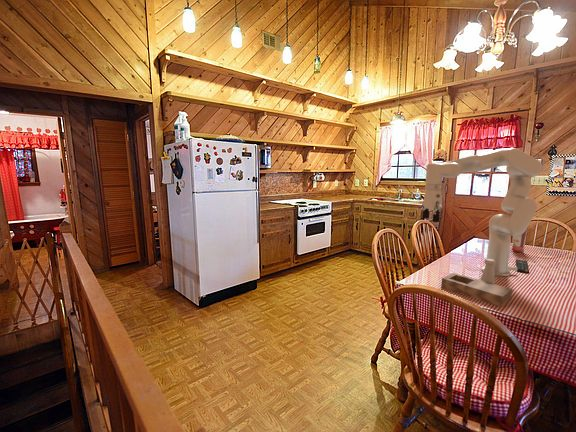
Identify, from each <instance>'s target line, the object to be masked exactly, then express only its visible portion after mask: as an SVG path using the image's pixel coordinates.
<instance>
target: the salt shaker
mask: <svg viewBox="0 0 576 432" xmlns="http://www.w3.org/2000/svg"><path fill="white" fill-rule="evenodd" d="M484 264H485V265H484V266H485V268H484V271H482V274H481V276H480V279H479V280H481V281H485V282H489V283H492V284H495V283H496V275H494V265H495V264H496V261H495V260H493V259H487V258H485V259H484Z"/></svg>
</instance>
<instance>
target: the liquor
mask: <svg viewBox="0 0 576 432" xmlns="http://www.w3.org/2000/svg"><path fill="white" fill-rule="evenodd" d="M529 225H530V224H529ZM529 225H528V227H527V229H526V230H525V232H524V233H523V234H522V235H520V236H512V237H513V239H512V247H511V251H513V252H514V253H518V254H521V253H523V252H525V244H526V239H527V234H528V229H529Z"/></svg>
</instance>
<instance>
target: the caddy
mask: <svg viewBox="0 0 576 432" xmlns="http://www.w3.org/2000/svg"><path fill="white" fill-rule="evenodd" d="M440 285H441V286H440V288H442V287H443V288H442V289H445V290H449V291H452V292H454V291H455V293H457V292H459V293H458V294H460V293H462V294H461V295H463V294H465V295H464V296H466V295H467V296H466V297H469V296H470V297H471V298H472V297H473V299H475V300H479V301H481V302H485V303H487V304H491V305H494V306H497V307H500V308H501V307H503V306H504V305H506V304H507V303H508V302H509V301H511V299H512V297H513V290H514V289H513V288H509V287H506V286H502V285H499V284H495V283H494V284H492V283H489V282H485V281H481V280H480V279H478V278H473V277H470V276H467V275H464V274H459V273H456V272H453V273H451V274H448V275H446V276H444V277H441V284H440Z"/></svg>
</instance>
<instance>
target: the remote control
mask: <svg viewBox="0 0 576 432" xmlns="http://www.w3.org/2000/svg"><path fill="white" fill-rule="evenodd" d="M515 267H517V268H518V270H517V271H516V272H517V273H522V274H530V269H529V263H528V260H523V259H517V258H516V259H515Z"/></svg>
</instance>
